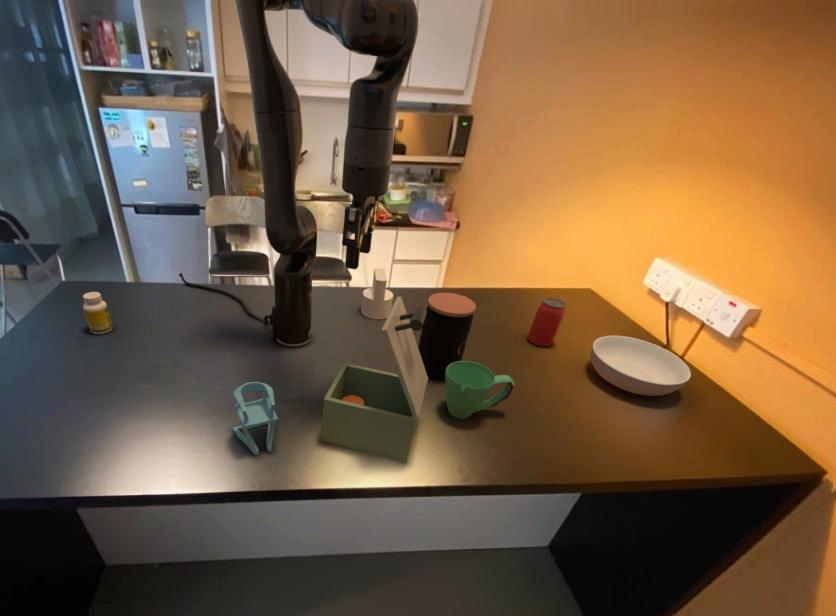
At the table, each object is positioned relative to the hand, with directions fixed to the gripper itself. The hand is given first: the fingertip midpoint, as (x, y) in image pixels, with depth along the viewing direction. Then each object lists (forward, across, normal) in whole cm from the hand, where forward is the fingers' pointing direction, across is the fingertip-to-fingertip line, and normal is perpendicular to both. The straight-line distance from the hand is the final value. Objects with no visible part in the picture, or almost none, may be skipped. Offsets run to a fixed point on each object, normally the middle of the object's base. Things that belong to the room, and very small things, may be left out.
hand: (358, 259), depth 77 cm
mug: (+31, -4, +27) cm, 41 cm away
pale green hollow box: (+31, +9, +8) cm, 33 cm away
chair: (+31, +20, -12) cm, 39 cm away
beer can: (+31, -43, +44) cm, 69 cm away
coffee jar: (+31, -18, +18) cm, 40 cm away
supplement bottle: (+32, -3, -68) cm, 75 cm away
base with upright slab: (+31, -42, -3) cm, 52 cm away
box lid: (+12, +9, +12) cm, 20 cm away
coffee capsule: (+30, +9, +4) cm, 32 cm away
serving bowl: (+31, -31, +64) cm, 78 cm away
